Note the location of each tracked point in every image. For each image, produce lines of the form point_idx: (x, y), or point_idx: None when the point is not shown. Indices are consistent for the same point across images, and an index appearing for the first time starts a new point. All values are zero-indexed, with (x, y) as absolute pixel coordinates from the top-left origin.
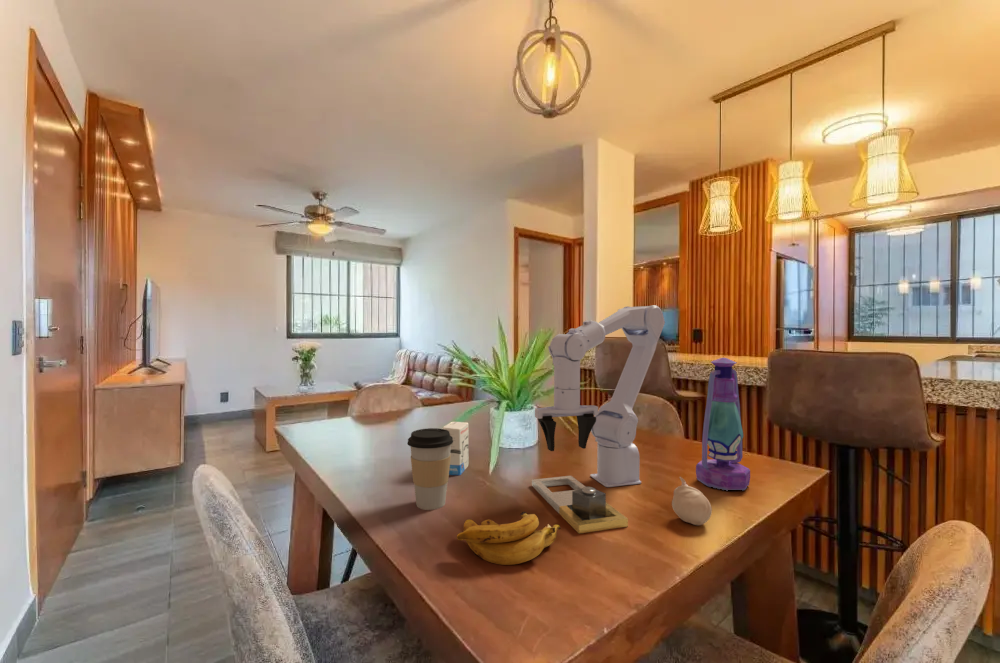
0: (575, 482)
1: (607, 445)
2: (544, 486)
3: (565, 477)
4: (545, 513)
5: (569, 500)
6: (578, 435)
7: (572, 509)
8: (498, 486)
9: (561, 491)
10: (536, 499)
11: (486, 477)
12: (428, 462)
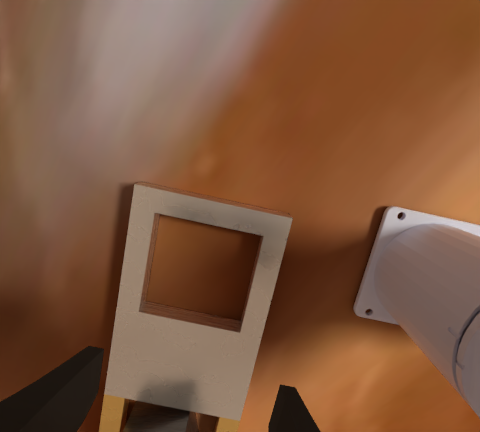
0: (260, 279)
1: (464, 396)
2: (142, 260)
3: (260, 224)
4: None
5: (152, 378)
6: (294, 428)
7: (129, 417)
8: (32, 126)
9: (169, 319)
10: (103, 279)
11: (20, 10)
12: None
